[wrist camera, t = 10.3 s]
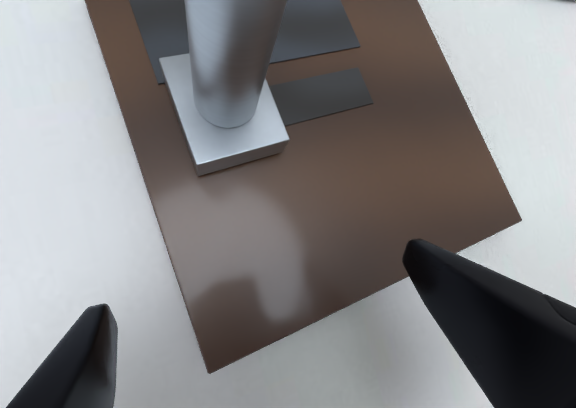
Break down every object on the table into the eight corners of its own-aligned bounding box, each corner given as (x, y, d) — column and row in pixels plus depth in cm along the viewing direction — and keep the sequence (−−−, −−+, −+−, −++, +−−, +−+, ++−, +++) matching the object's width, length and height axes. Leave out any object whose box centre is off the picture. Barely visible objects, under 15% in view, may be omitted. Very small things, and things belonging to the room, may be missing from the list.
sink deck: (501, 224, 20) (524, 220, 19) (208, 364, 14) (208, 375, 13) (383, -27, 22) (396, -49, 21) (88, 2, 16) (75, -25, 15)
